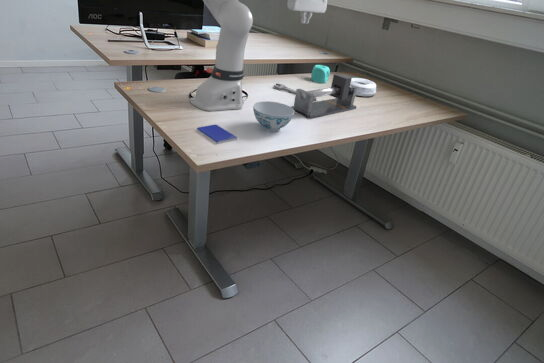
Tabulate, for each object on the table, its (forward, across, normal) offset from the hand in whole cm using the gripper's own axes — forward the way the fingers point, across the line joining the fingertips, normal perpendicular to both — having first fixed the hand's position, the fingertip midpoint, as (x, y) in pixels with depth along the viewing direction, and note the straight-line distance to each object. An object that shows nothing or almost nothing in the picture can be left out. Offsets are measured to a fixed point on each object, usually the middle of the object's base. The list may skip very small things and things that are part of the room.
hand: (304, 23), depth 156 cm
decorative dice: (+32, -41, -19) cm, 56 cm away
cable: (+32, -48, +4) cm, 58 cm away
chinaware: (+34, +31, +21) cm, 51 cm away
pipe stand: (+33, -7, +15) cm, 36 cm away
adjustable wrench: (+34, -9, -7) cm, 36 cm away
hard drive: (+35, +53, +18) cm, 66 cm away
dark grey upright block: (+28, -15, +15) cm, 35 cm away
